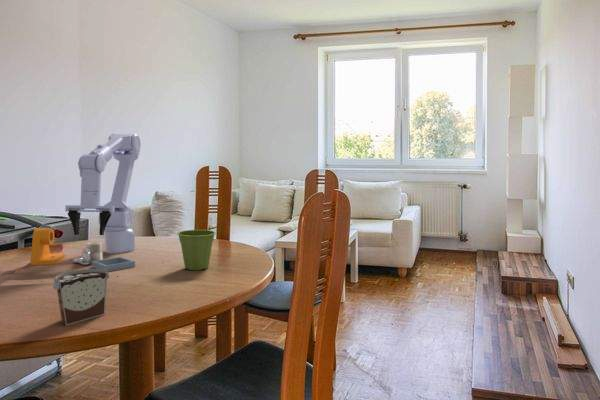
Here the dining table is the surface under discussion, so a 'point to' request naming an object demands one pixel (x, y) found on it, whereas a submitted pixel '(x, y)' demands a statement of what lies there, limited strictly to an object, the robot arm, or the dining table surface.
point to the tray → (113, 264)
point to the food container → (81, 294)
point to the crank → (83, 257)
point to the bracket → (44, 248)
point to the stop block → (95, 251)
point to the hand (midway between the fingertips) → (89, 234)
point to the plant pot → (196, 248)
